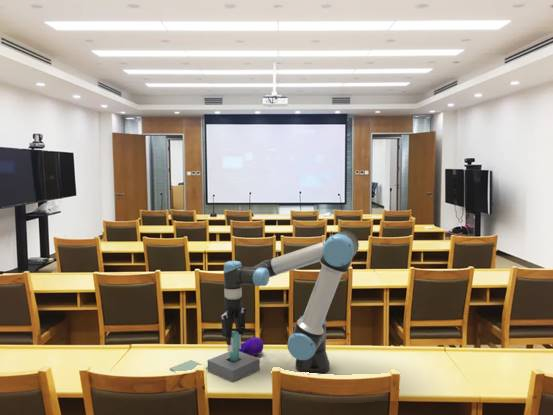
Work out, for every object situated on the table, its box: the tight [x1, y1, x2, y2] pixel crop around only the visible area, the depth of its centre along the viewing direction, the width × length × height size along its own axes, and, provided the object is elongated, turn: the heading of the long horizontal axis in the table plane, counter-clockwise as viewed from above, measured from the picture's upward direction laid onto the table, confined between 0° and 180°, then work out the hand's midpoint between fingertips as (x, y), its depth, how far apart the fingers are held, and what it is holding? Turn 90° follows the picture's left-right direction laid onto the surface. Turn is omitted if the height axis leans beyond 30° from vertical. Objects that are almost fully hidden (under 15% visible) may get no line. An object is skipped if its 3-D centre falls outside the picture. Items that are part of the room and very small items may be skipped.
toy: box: [239, 336, 264, 357], centre depth 222 cm, size 9×10×15 cm
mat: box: [169, 359, 208, 372], centre depth 207 cm, size 12×12×1 cm
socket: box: [207, 351, 261, 383], centre depth 205 cm, size 16×16×5 cm
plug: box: [230, 330, 239, 363], centre depth 204 cm, size 4×4×14 cm
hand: (234, 349), depth 204 cm, fingers closed on plug, 4 cm apart
